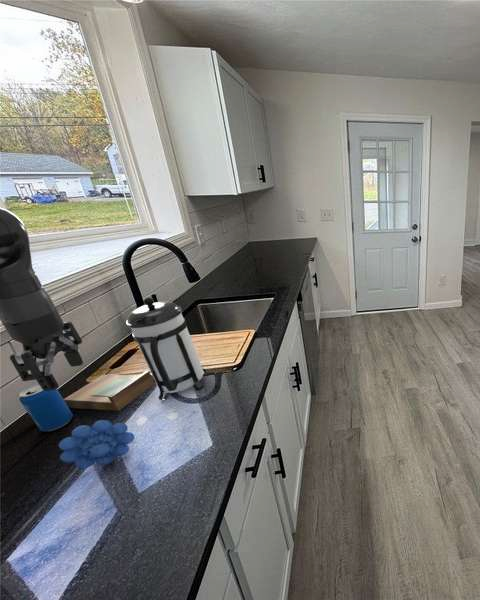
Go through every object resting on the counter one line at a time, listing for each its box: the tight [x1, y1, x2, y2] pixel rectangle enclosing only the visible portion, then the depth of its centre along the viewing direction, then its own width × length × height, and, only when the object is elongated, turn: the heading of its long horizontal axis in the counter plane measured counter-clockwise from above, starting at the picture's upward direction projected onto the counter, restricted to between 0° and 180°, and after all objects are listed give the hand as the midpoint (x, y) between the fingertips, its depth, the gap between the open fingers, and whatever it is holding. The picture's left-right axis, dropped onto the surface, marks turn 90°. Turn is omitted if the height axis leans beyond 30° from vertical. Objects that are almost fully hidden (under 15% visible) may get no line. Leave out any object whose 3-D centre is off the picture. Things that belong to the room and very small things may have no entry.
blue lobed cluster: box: [58, 419, 135, 469], centre depth 70 cm, size 12×7×12 cm, turn 138°
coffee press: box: [125, 297, 206, 402], centre depth 91 cm, size 17×16×30 cm
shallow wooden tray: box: [63, 370, 156, 412], centre depth 95 cm, size 18×12×5 cm, turn 81°
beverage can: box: [18, 383, 74, 432], centre depth 83 cm, size 6×6×12 cm
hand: (65, 376), depth 70 cm, fingers open, 8 cm apart
